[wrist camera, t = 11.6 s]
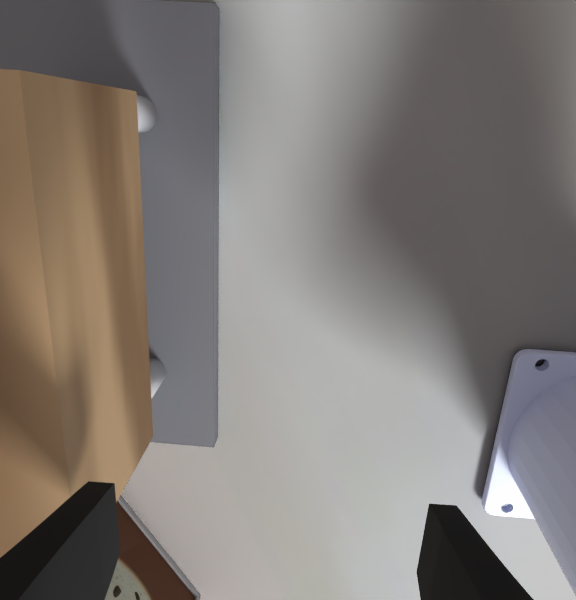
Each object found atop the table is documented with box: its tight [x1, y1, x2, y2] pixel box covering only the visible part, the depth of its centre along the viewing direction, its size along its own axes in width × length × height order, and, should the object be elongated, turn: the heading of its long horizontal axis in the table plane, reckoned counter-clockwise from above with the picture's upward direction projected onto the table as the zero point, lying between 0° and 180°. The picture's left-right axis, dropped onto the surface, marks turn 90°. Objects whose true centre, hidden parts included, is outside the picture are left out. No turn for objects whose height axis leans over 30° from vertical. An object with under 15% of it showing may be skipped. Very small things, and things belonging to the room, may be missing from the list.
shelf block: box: [0, 69, 153, 558], centre depth 14 cm, size 4×12×6 cm, turn 177°
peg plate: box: [0, 0, 219, 447], centre depth 18 cm, size 8×17×3 cm, turn 177°
